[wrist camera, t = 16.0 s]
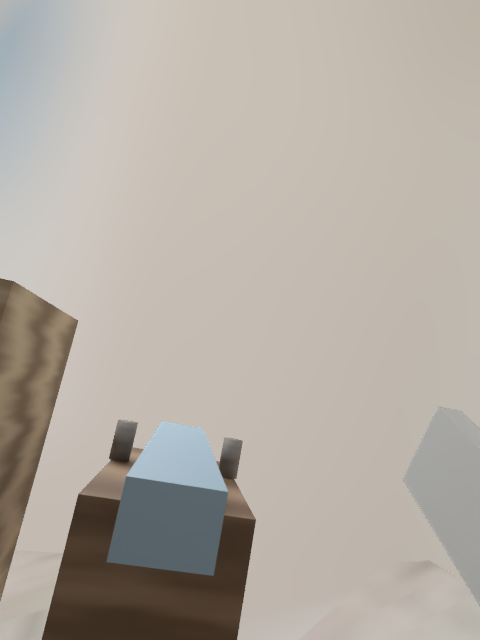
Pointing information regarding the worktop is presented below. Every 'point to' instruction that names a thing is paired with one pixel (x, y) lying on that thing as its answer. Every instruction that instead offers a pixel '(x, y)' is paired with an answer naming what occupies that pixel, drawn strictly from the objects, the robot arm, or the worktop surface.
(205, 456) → the blue-grey block
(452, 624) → the worktop surface
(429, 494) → the robot arm
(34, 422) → the stand
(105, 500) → the wooden block with pegs
